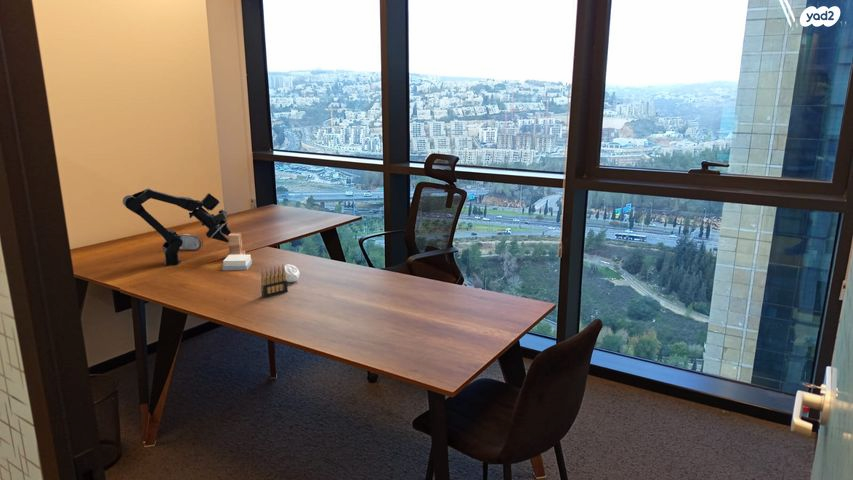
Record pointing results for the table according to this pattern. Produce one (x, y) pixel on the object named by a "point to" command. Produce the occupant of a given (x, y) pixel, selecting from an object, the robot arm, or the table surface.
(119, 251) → the table surface
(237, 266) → the tower base
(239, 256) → the white square slab
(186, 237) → the tin
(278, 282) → the ammunition clip
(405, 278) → the table surface
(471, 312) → the table surface
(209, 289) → the table surface
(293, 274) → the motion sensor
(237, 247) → the pillar
